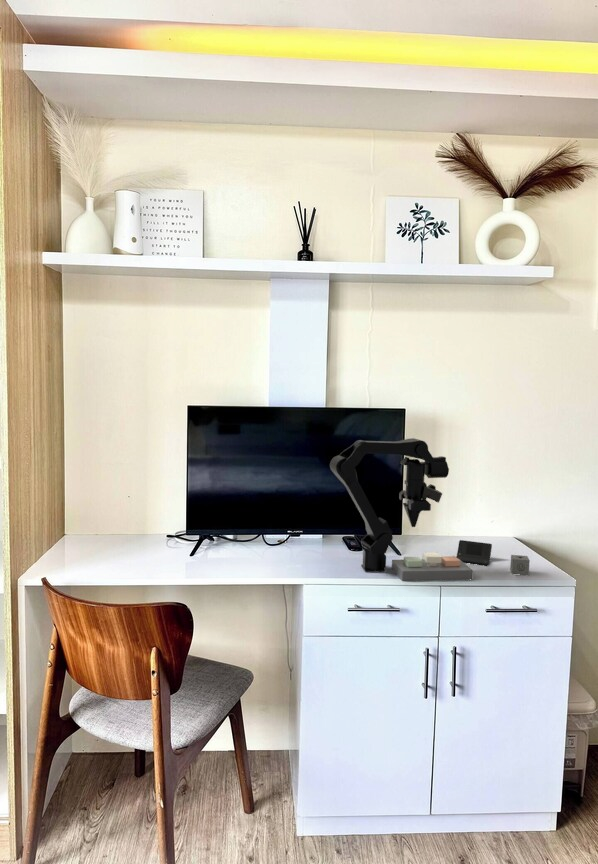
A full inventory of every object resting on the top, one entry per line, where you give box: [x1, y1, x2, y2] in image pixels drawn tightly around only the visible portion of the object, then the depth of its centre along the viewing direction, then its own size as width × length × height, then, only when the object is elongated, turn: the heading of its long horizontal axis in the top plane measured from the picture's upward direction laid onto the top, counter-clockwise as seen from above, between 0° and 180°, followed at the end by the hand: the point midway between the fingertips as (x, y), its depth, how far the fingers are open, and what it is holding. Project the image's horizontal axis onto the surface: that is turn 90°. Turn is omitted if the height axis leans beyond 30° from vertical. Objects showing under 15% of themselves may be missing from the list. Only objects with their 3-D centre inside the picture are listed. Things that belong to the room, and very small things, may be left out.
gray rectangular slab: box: [391, 558, 474, 582], centre depth 216 cm, size 22×12×3 cm, turn 98°
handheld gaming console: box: [455, 539, 493, 567], centre depth 232 cm, size 12×7×10 cm
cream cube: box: [421, 552, 442, 566], centre depth 215 cm, size 5×5×5 cm
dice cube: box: [509, 554, 531, 576], centre depth 220 cm, size 5×5×5 cm
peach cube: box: [440, 555, 460, 566], centre depth 216 cm, size 5×5×5 cm
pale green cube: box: [403, 556, 423, 567], centre depth 215 cm, size 5×5×5 cm
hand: (413, 526), depth 222 cm, fingers closed
